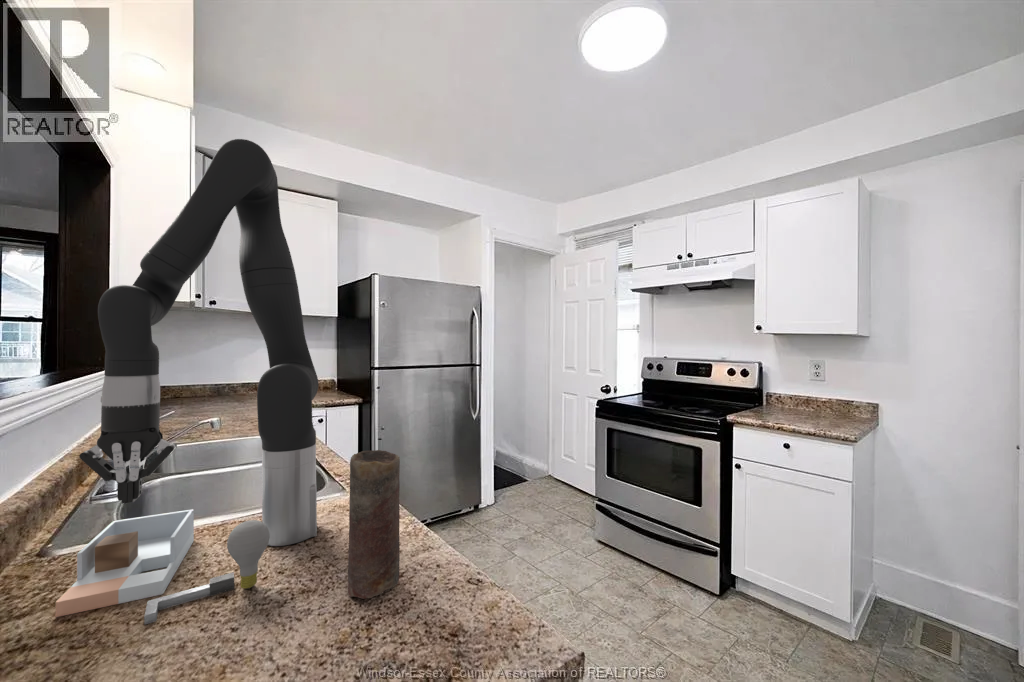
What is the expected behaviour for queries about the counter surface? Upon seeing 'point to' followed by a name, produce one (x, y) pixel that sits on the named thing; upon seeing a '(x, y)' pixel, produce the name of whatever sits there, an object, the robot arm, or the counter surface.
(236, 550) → the light bulb
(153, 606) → the hook tool
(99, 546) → the walnut cube
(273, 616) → the counter surface
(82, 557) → the cubby
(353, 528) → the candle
